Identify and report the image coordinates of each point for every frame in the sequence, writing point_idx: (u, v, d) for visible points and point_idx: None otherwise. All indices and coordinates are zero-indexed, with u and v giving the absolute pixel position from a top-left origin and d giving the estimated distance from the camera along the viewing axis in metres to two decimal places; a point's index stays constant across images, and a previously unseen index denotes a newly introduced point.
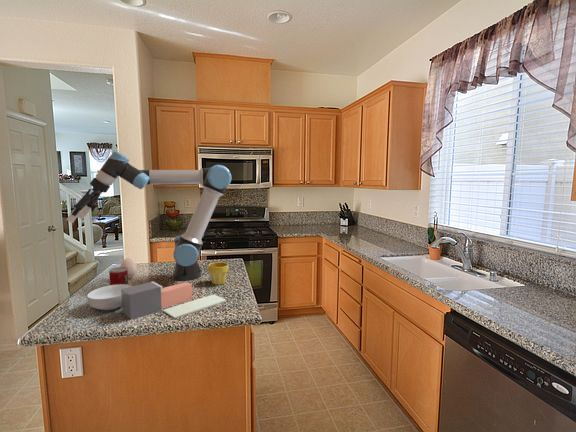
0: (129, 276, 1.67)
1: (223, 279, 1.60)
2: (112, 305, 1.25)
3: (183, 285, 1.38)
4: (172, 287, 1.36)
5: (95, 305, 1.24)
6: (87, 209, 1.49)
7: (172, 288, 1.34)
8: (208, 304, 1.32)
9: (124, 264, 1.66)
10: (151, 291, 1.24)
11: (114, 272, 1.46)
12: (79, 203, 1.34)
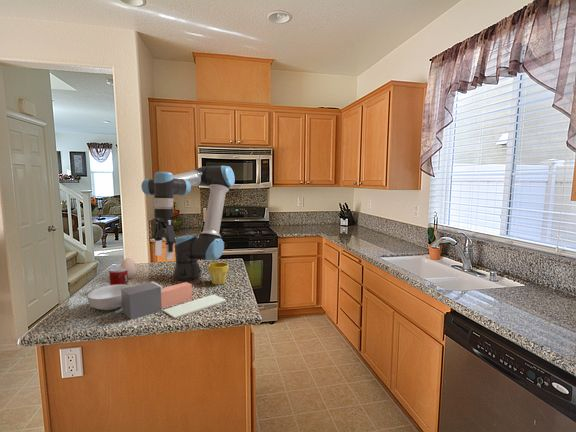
0: (129, 276, 1.67)
1: (223, 279, 1.60)
2: (112, 305, 1.25)
3: (183, 285, 1.38)
4: (172, 287, 1.36)
5: (95, 305, 1.24)
6: (160, 243, 1.39)
7: (172, 288, 1.34)
8: (208, 304, 1.32)
9: (124, 264, 1.66)
10: (151, 291, 1.24)
11: (114, 272, 1.46)
12: (171, 238, 1.26)
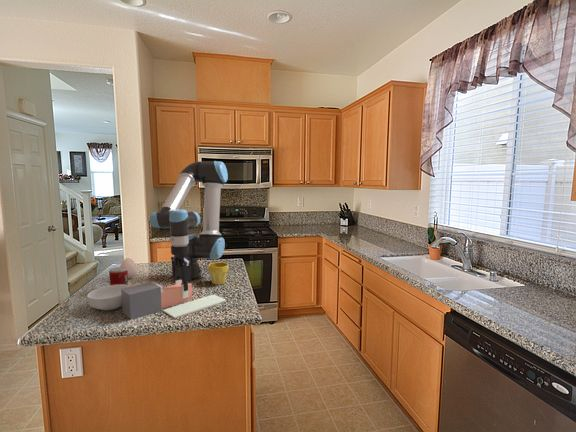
0: (129, 276, 1.67)
1: (223, 279, 1.60)
2: (112, 305, 1.25)
3: None
4: (172, 287, 1.35)
5: (95, 305, 1.24)
6: (180, 282, 1.41)
7: (172, 288, 1.34)
8: (208, 304, 1.32)
9: (124, 264, 1.66)
10: (151, 291, 1.24)
11: (114, 272, 1.46)
12: (187, 279, 1.33)
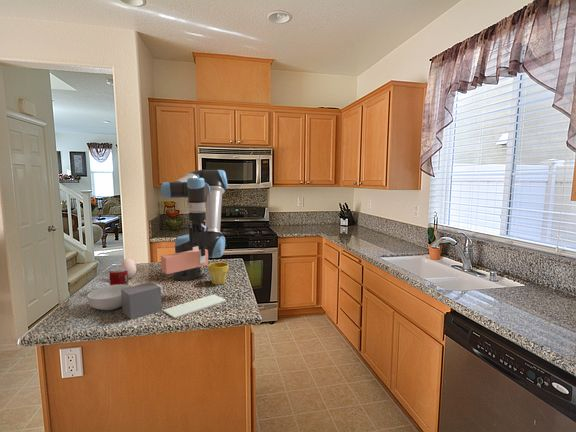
0: (129, 276, 1.67)
1: (223, 279, 1.60)
2: (112, 305, 1.25)
3: None
4: (189, 252, 1.40)
5: (95, 305, 1.24)
6: None
7: (190, 252, 1.39)
8: (208, 304, 1.32)
9: (124, 264, 1.66)
10: (151, 291, 1.24)
11: (114, 272, 1.46)
12: (204, 244, 1.39)
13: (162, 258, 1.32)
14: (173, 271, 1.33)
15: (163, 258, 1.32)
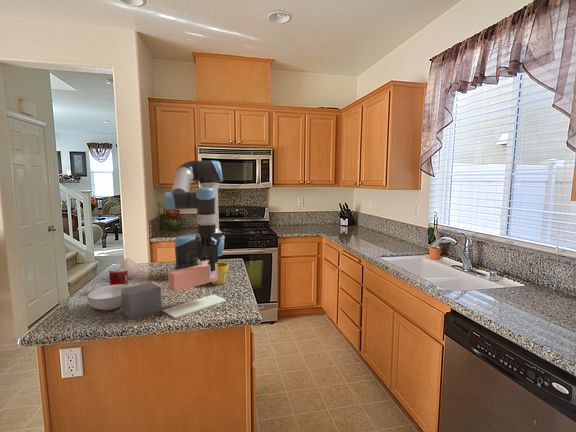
0: (129, 276, 1.67)
1: (223, 279, 1.60)
2: (112, 305, 1.25)
3: None
4: (198, 266, 1.32)
5: (95, 305, 1.24)
6: (206, 263, 1.37)
7: (199, 267, 1.30)
8: (208, 304, 1.32)
9: (124, 264, 1.66)
10: (151, 291, 1.24)
11: (114, 272, 1.46)
12: (214, 258, 1.30)
13: (170, 274, 1.24)
14: (181, 288, 1.24)
15: (171, 274, 1.23)
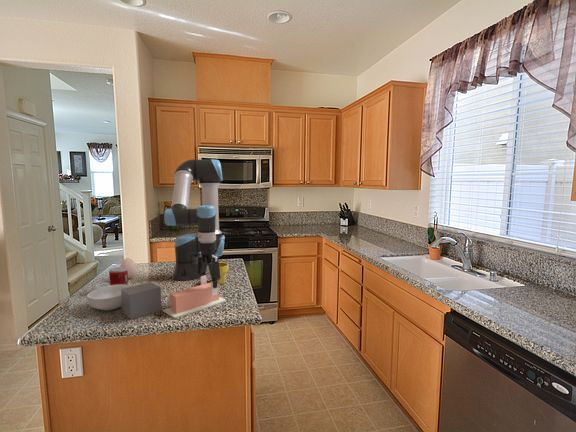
0: (129, 276, 1.67)
1: (223, 279, 1.60)
2: (112, 305, 1.25)
3: (210, 285, 1.36)
4: (199, 287, 1.33)
5: (95, 305, 1.24)
6: (205, 278, 1.39)
7: (200, 288, 1.32)
8: (208, 304, 1.32)
9: (124, 264, 1.66)
10: (151, 291, 1.24)
11: (114, 272, 1.46)
12: (216, 275, 1.30)
13: (171, 296, 1.25)
14: (183, 310, 1.25)
15: (172, 296, 1.24)
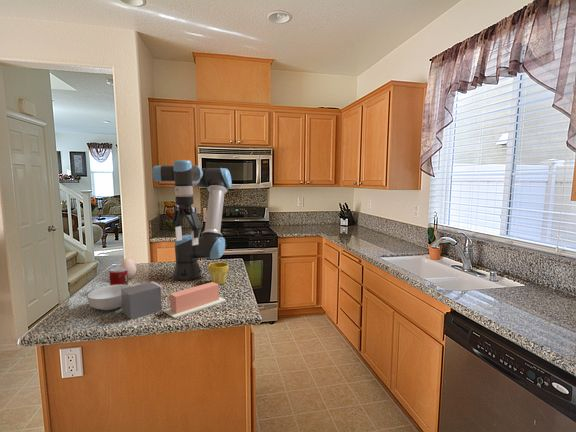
0: (129, 276, 1.67)
1: (223, 279, 1.60)
2: (112, 305, 1.25)
3: (210, 285, 1.36)
4: (199, 287, 1.33)
5: (95, 305, 1.24)
6: (179, 229, 1.44)
7: (200, 288, 1.32)
8: (208, 304, 1.32)
9: (124, 264, 1.66)
10: (151, 291, 1.24)
11: (114, 272, 1.46)
12: (196, 224, 1.32)
13: (171, 296, 1.25)
14: (183, 310, 1.25)
15: (172, 296, 1.24)
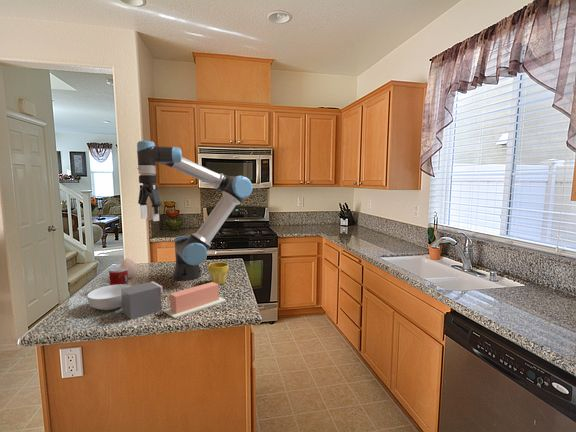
0: (129, 276, 1.67)
1: (223, 279, 1.60)
2: (112, 305, 1.25)
3: (210, 285, 1.36)
4: (199, 287, 1.33)
5: (95, 305, 1.24)
6: (145, 207, 1.52)
7: (200, 288, 1.32)
8: (208, 304, 1.32)
9: (124, 264, 1.66)
10: (151, 291, 1.24)
11: (114, 272, 1.46)
12: (156, 201, 1.40)
13: (171, 296, 1.25)
14: (183, 310, 1.25)
15: (172, 296, 1.24)
